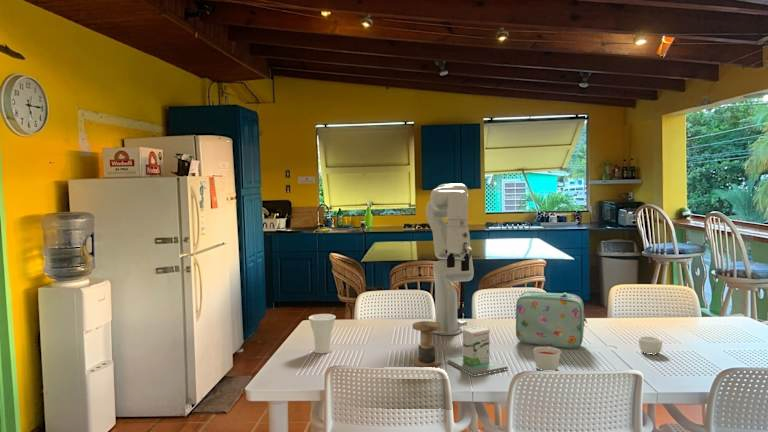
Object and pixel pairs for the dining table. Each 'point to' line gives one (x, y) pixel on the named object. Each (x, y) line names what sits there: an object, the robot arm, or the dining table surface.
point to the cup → (322, 331)
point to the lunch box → (550, 319)
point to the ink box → (475, 346)
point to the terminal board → (478, 366)
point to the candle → (547, 358)
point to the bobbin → (426, 344)
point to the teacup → (650, 344)
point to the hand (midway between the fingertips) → (457, 269)
